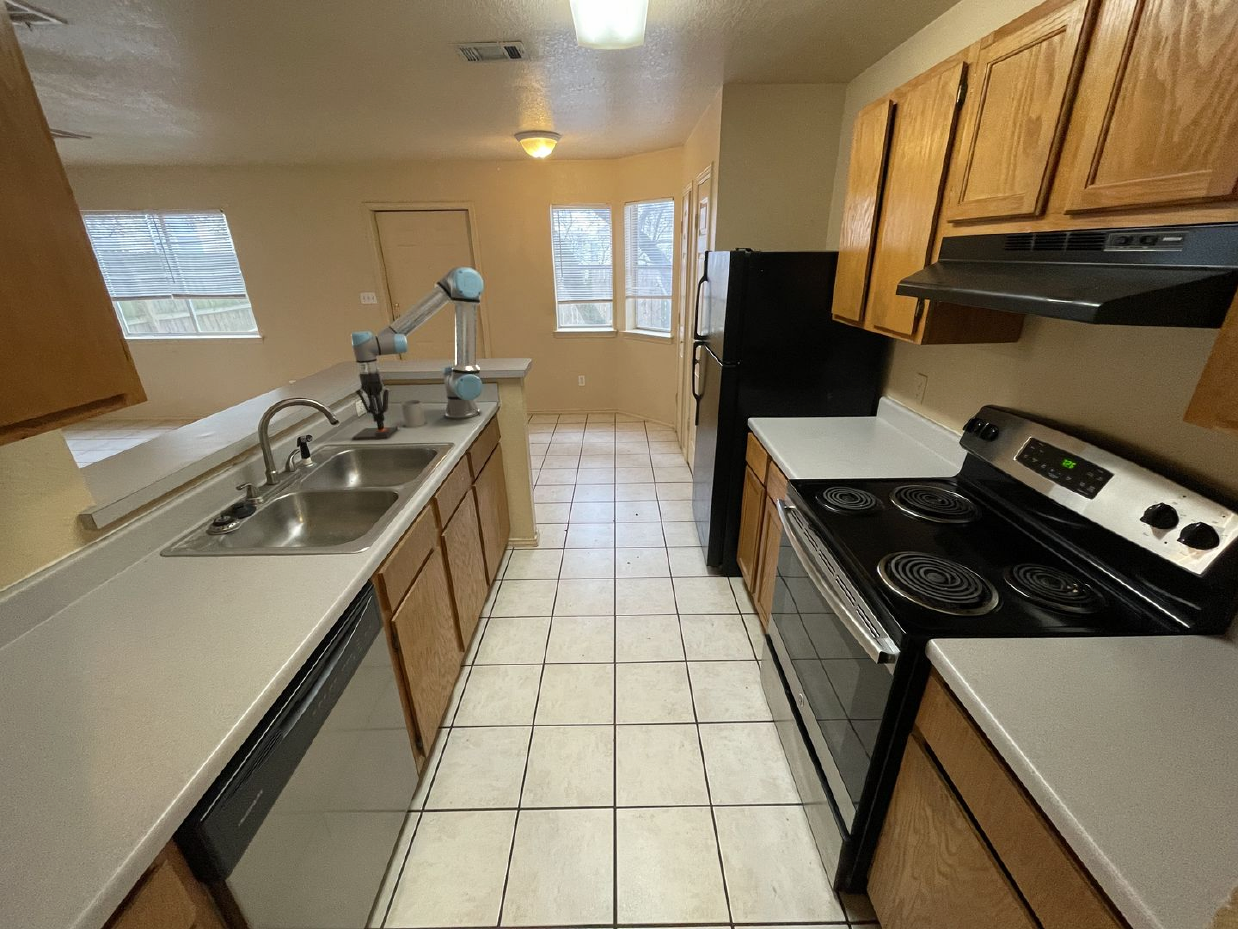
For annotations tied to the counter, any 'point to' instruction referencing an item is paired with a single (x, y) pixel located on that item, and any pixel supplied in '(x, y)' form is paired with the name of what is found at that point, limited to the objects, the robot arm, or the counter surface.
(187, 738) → the counter surface
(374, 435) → the scale
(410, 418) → the cup
